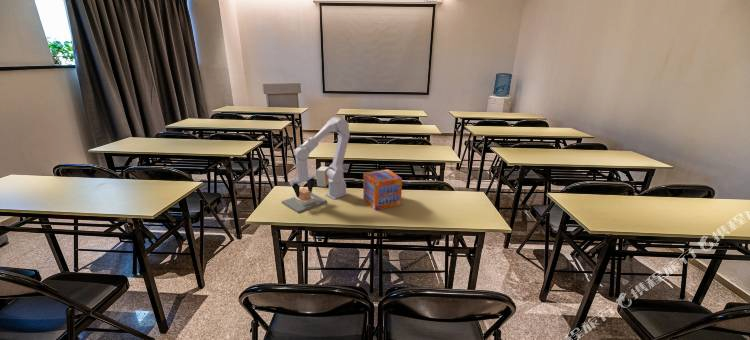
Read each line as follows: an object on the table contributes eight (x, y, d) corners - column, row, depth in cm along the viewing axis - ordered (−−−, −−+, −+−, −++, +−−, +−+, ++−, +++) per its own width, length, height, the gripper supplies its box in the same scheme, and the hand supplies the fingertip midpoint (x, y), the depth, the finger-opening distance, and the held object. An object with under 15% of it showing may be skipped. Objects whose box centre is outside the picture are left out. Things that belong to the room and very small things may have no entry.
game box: (401, 205, 164) (402, 178, 159) (375, 210, 157) (375, 182, 152) (387, 194, 177) (388, 168, 172) (363, 198, 171) (363, 172, 165)
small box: (325, 187, 185) (324, 170, 182) (316, 186, 186) (316, 170, 183) (330, 182, 193) (329, 166, 189) (321, 181, 194) (320, 165, 190)
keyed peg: (310, 201, 164) (310, 191, 162) (304, 203, 161) (303, 193, 159) (304, 198, 168) (303, 188, 166) (298, 200, 165) (297, 190, 163)
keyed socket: (310, 193, 176) (309, 188, 175) (327, 202, 165) (326, 197, 164) (281, 202, 164) (281, 197, 163) (298, 213, 153) (297, 207, 152)
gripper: (309, 165, 166) (311, 188, 170) (285, 171, 156) (287, 195, 161) (317, 168, 161) (318, 192, 166) (293, 175, 151) (295, 200, 156)
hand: (304, 194), depth 163 cm, fingers open, 7 cm apart
